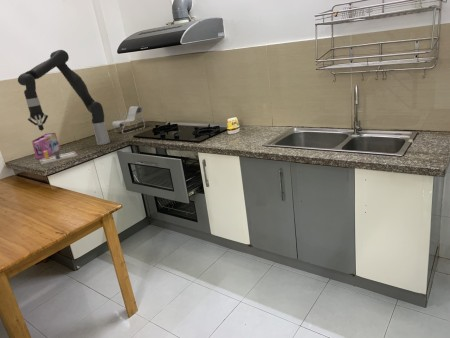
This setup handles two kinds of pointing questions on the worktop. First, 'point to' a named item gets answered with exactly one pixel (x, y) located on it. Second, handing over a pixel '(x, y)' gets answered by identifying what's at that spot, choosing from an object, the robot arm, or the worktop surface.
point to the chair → (129, 118)
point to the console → (62, 156)
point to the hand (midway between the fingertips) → (41, 130)
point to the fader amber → (46, 154)
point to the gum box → (45, 145)
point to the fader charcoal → (56, 154)
